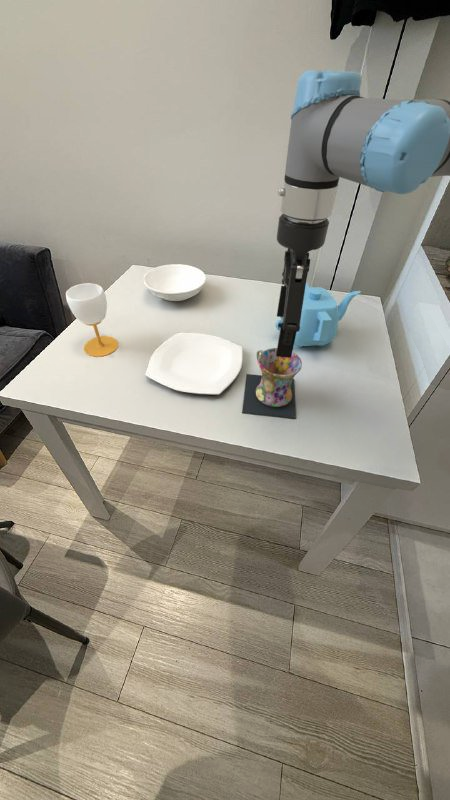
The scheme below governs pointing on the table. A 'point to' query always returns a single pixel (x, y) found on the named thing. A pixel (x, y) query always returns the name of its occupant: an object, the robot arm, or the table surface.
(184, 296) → the bowl
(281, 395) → the mug
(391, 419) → the table surface
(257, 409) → the left mat
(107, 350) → the cup
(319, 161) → the robot arm
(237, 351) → the plate
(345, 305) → the teapot
